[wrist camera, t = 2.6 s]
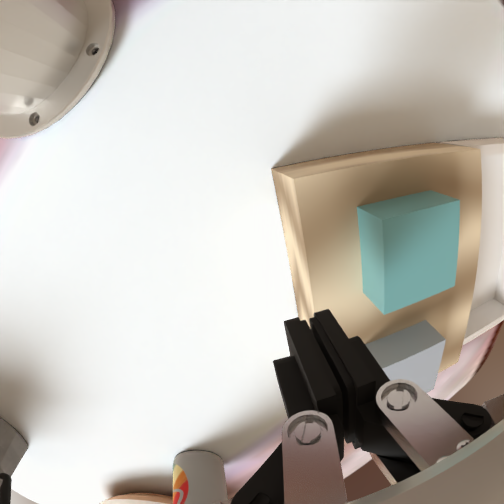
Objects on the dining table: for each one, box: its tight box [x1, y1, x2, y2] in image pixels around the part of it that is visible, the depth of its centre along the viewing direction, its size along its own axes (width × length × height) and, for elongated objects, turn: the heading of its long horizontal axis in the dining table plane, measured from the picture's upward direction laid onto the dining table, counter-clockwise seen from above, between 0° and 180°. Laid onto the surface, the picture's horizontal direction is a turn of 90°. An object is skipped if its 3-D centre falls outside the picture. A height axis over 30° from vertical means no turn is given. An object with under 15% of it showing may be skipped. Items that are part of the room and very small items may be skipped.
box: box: [438, 138, 504, 345], centre depth 21 cm, size 18×10×4 cm, turn 12°
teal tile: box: [357, 190, 460, 315], centre depth 14 cm, size 5×5×2 cm
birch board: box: [271, 143, 482, 373], centre depth 20 cm, size 18×13×5 cm
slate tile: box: [365, 320, 446, 393], centre depth 18 cm, size 5×5×2 cm
